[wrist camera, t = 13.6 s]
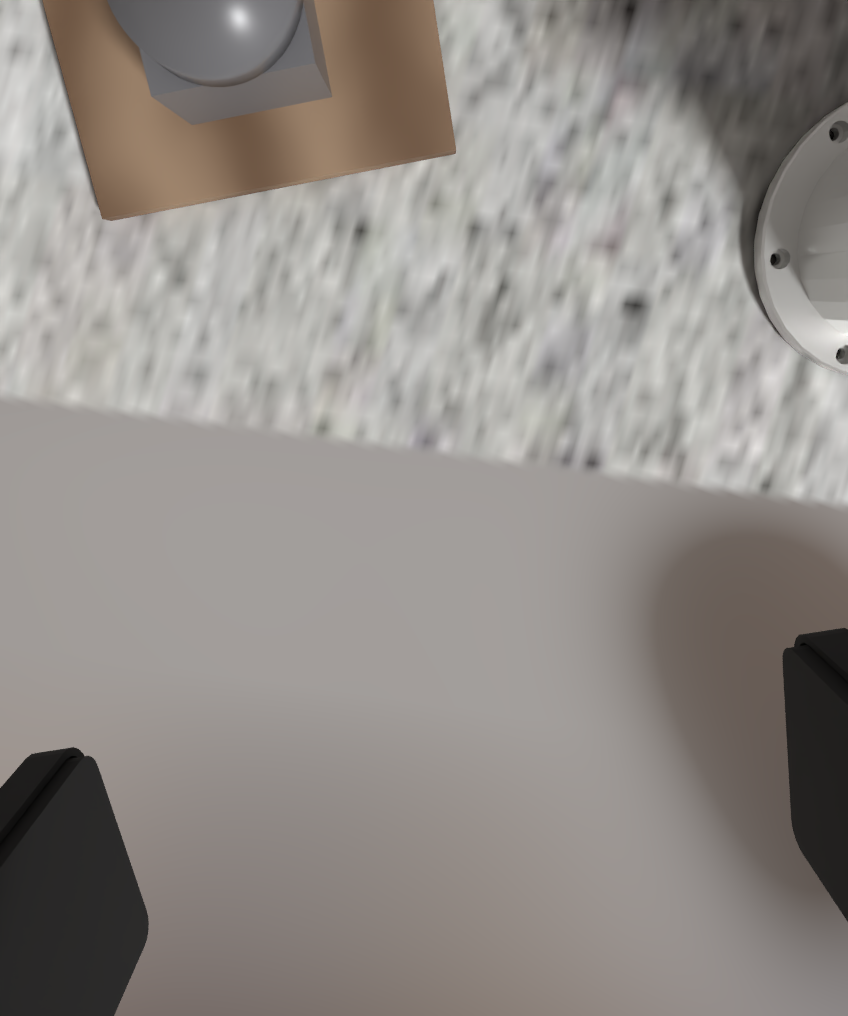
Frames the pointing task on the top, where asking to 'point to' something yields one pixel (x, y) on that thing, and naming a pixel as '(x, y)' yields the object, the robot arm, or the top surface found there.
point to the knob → (227, 54)
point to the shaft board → (261, 135)
